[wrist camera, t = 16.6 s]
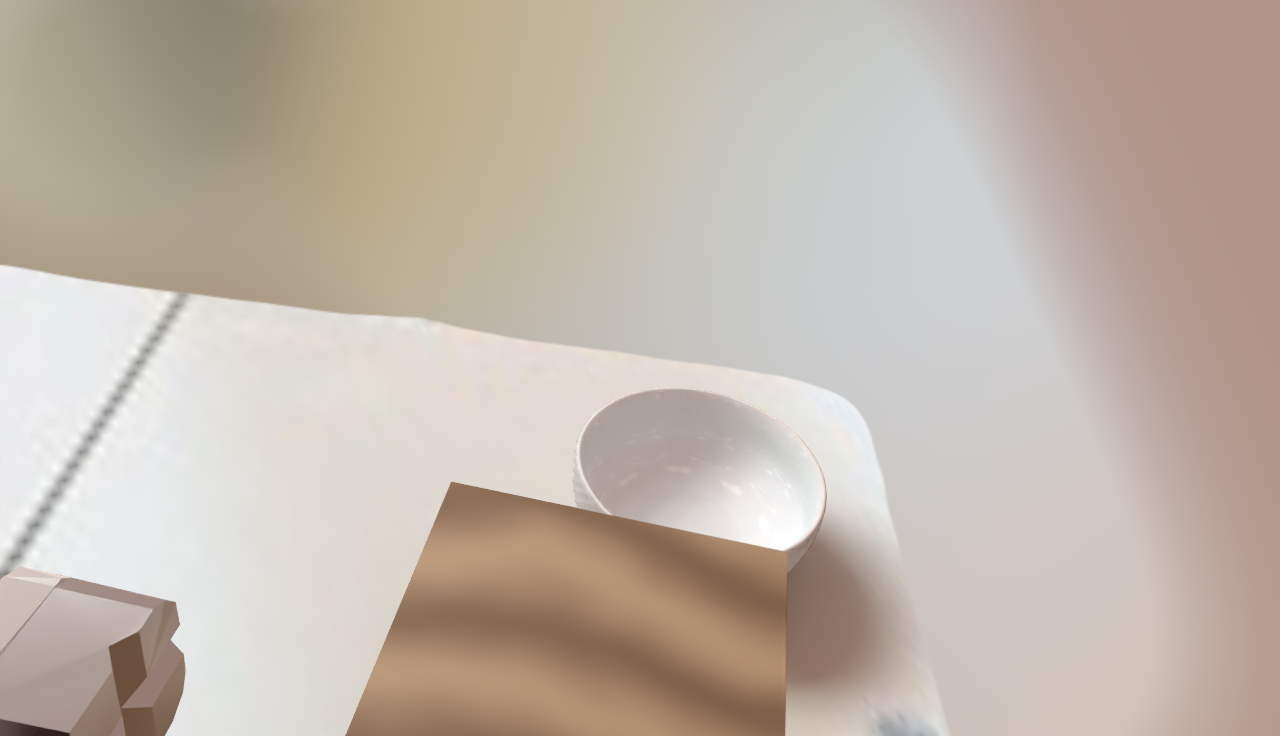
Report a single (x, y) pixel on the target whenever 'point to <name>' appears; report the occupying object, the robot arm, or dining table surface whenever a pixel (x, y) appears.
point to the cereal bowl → (701, 469)
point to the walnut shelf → (579, 629)
